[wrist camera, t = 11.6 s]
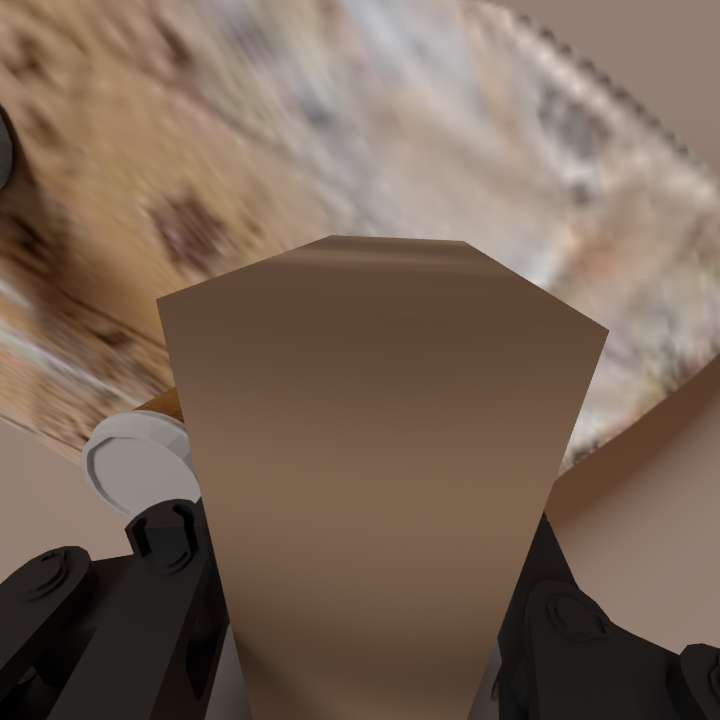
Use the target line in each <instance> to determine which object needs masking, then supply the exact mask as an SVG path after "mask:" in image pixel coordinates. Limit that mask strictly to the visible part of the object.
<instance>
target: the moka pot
mask: <svg viewBox="0 0 720 720" xmlns="http://www.w3.org/2000/svg"><path fill="white" fill-rule="evenodd" d="M12 150H13V146H12V141H11V140H10V136H9V133H8V131H7V129H6V125H5V123H4V121H3V119H2V117H1V115H0V189H1V188H2V187H3V186H4V185H5V183H6V181H7V180H8V178H9V176H10V173H11V164H12V155H13V154H12Z"/></svg>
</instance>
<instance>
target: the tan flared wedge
mask: <svg viewBox="0 0 720 720" xmlns="http://www.w3.org/2000/svg"><path fill="white" fill-rule="evenodd" d="M156 301H157V306H158V310H159V315H160V319H161V323H162V328H163V332H164V336H165V341H166V345H167V349H168V354H169V358H170V362H171V367H172V371H173V375H174V380H175V384H176V388H177V393H178V397H179V401H180V406H181V410H182V414H183V419H184V423H185V427H186V432H187V436H188V440H189V445H190V449H191V453H192V458H193V462H194V466H195V471H196V475H197V479H198V484H199V488H200V493H201V497H202V501H203V506H204V510H205V514H206V519H207V523H208V527H209V532H210V536H211V540H212V545H213V549H214V553H215V558H216V562H217V566H218V571H219V575H220V579H221V584H222V588H223V592H224V597H225V601H226V605H227V610H228V614H229V618H230V624H229V626H228V629H227V633H226V637H225V641H224V645H223V649H222V653H221V657H220V661H219V665H218V669H217V673H216V677H215V681H214V685H213V689H212V693H211V697H210V701H209V705H208V709H207V713H206V717H205V720H499V707H498V699H497V701H496V702H494V701H492V700H490V698H491V692H492V686H493V684H494V681H495V679H496V676H497V674H498V671H499V669H500V666H501V664H502V659H501V654H500V649H499V644H498V640H497V636H498V633H499V631H500V628H501V625H502V623H503V620H504V617H505V614H506V612H507V609H508V606H509V603H510V601H511V598H512V595H513V592H514V590H515V587H516V584H517V582H518V579H519V576H520V573H521V571H522V568H523V565H524V562H525V560H526V557H527V554H528V551H529V549H530V546H531V543H532V541H533V538H534V535H535V532H536V530H537V527H538V524H539V521H540V519H541V516H542V513H543V510H544V508H545V505H546V502H547V500H548V497H549V494H550V491H551V488H552V486H553V483H554V480H555V478H556V475H557V472H558V469H559V467H560V464H561V461H562V459H563V456H564V453H565V450H566V448H567V445H568V442H569V439H570V437H571V434H572V431H573V428H574V426H575V423H576V420H577V418H578V415H579V412H580V409H581V407H582V404H583V401H584V398H585V396H586V393H587V390H588V387H589V385H590V382H591V379H592V377H593V374H594V371H595V368H596V366H597V363H598V360H599V357H600V355H601V352H602V349H603V346H604V344H605V341H606V338H607V336H608V333H609V330H608V329H606V328H605V327H603V326H601V325H600V324H598V323H597V322H595V321H593V320H592V319H590V318H588V317H587V316H585V315H583V314H582V313H580V312H579V311H577V310H575V309H574V308H572V307H570V306H569V305H567V304H566V303H564V302H562V301H561V300H559V299H557V298H556V297H554V296H552V295H551V294H549V293H548V292H546V291H544V290H543V289H541V288H539V287H538V286H536V285H534V284H533V283H531V282H530V281H528V280H526V279H525V278H523V277H521V276H520V275H518V274H517V273H515V272H513V271H512V270H510V269H508V268H507V267H505V266H503V265H502V264H500V263H499V262H497V261H495V260H494V259H492V258H490V257H489V256H487V255H486V254H484V253H482V252H481V251H479V250H477V249H476V248H474V247H472V246H471V245H469V244H468V243H466V242H464V241H451V240H428V239H406V238H383V237H360V236H337V235H331V236H328V237H326V238H323V239H320V240H317V241H315V242H312V243H309V244H306V245H304V246H301V247H298V248H295V249H293V250H290V251H287V252H284V253H282V254H279V255H276V256H273V257H271V258H268V259H265V260H262V261H260V262H257V263H254V264H251V265H249V266H246V267H243V268H240V269H238V270H235V271H232V272H229V273H227V274H224V275H221V276H218V277H216V278H213V279H210V280H208V281H205V282H202V283H199V284H197V285H194V286H191V287H188V288H186V289H183V290H180V291H177V292H175V293H172V294H169V295H166V296H164V297H161V298H158V299H156Z"/></svg>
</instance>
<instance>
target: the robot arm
mask: <svg viewBox="0 0 720 720" xmlns="http://www.w3.org/2000/svg"><path fill="white" fill-rule="evenodd" d="M125 532H126V534H127V537H128V539H129V542H130V544H131V547H132V550H133V552H134V554H132V555H127V556H121V557H115V558H109V559H103V560H98V561H92V560H91V558H90V556H89V554H88V552H87V551H86V550H85V549H83V548H81V547H79V546H64V547H60V548H57V549H53V550H50V551H47V552H45V553H43V554H41V555H39V556H37V557H35V558H33V559H31V560H30V561H28V562H27V563H26V564H24V565H23V566H22V567H20V568H19V569H18V570H16V571H15V572H14V573H12V574H11V575H10V576H9V577H8V578H7V579H6V580H5V581H3V582H2V583H1V584H0V720H205V717H206V713H207V709H208V705H209V701H210V697H211V693H212V689H213V685H214V681H215V677H216V673H217V669H218V665H219V661H220V657H221V653H222V649H223V645H224V641H225V637H226V633H227V629H228V626H229V624H230V618H229V614H228V610H227V605H226V601H225V597H224V592H223V588H222V584H221V579H220V575H219V571H218V566H217V562H216V558H215V553H214V549H213V545H212V540H211V536H210V532H209V527H208V523H207V519H206V514H205V510H204V506H203V501H202V497H200V498H199V499H198V501H197V502H196V503H194V502H193V501H191V500H187V499H179V498H177V499H172V500H166V501H162V502H160V503H157V504H155V505H153V506H150V507H148V508H147V509H145V510H144V511H143V512H141V513H140V514H138V515H137V516H135V517H134V519H133V520H132V521H131V522H130V523H129V524H128V525H127V527H126V528H125ZM497 640H498V644H499V649H500V654H501V659H502V664H501V666H500V669H499V671H498V674H497V676H496V679H495V681H494V684H493V686H492V692H491V698H490V700H492V701H494V702H496V701H497V699H498V707H499V720H720V648H716V647H713V646H709V645H706V644H703V643H700V644H693V645H687V646H686V648H685V649H684V650H683V651H682V653H681V654H680V655H678V654H676V653H673V652H671V651H669V650H667V649H665V648H663V647H660V646H658V645H656V644H654V643H651V642H649V641H647V640H645V639H643V638H640V637H638V636H636V635H634V634H632V633H630V632H628V631H626V630H624V629H622V628H621V627H619V626H617V625H615V624H614V623H613V622H611V621H610V619H609V618H608V616H607V615H606V614H605V613H604V612H603V610H602V609H601V608H600V606H599V605H598V604H597V603H596V602H595V601H594V600H593V599H591V598H590V597H589V596H587V595H586V594H585V593H584V592H582V591H581V590H580V589H579V587H578V585H577V584H576V582H575V580H574V578H573V575H572V573H571V571H570V568H569V566H568V564H567V562H566V559H565V557H564V555H563V553H562V550H561V549H560V546H559V544H558V541H557V539H556V537H555V535H554V532H553V530H552V528H551V526H550V523H549V522H548V521H547V517H546V514H545V512H544V510H543V513H542V516H541V519H540V521H539V524H538V527H537V530H536V532H535V535H534V538H533V541H532V543H531V546H530V549H529V551H528V554H527V557H526V560H525V562H524V565H523V568H522V571H521V573H520V576H519V579H518V582H517V584H516V587H515V590H514V592H513V595H512V598H511V601H510V603H509V606H508V609H507V612H506V614H505V617H504V620H503V623H502V625H501V628H500V631H499V633H498V636H497Z"/></svg>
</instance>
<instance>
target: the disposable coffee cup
mask: <svg viewBox="0 0 720 720" xmlns="http://www.w3.org/2000/svg"><path fill="white" fill-rule="evenodd" d="M81 466H82V469H83V472H84V475H85V478H86V480H87V481H88V483H89V485H90V487H91V488H92V489H93V490H94V492H95V493H96V494H97V495H98V497H99V498H100V499H101V500H103V501H104V502H105V503H106V504H107V505H108V506H110V507H111V508H112V509H113V510H115V511H116V512H118V513H120V514H121V515H123V516H125V517H127V518H129V519H131V520H133V519H134V517H135V516H137V515H138V514H140V513H141V512H143V511H144V510H145V509H147V508H148V507H150V506H153V505H155V504H157V503H160V502H162V501H166V500H172V499H177V498H179V499H187V500H191V501H193V502H194V503H196V502H197V501H198V499H199V498H200V497H201V493H200V488H199V484H198V479H197V475H196V471H195V466H194V462H193V458H192V453H191V449H190V445H189V440H188V436H187V432H186V427H185V423H184V419H183V414H182V410H181V406H180V401H179V397H178V393H177V388H176V387H174V388H172V389H170V390H169V391H166V392H165V393H163V394H161V395H159V396H157V397H156V398H154V399H152V400H150V401H148V402H146V403H145V404H143V405H141V406H139V407H137V408H136V409H134V410H132V411H128V412H123V413H120V414H116V415H113V416H110V417H108V418H107V419H105V420H103V421H102V422H101V423H100V424H99V425H98V426H97V427H96V428H95V430H94V431H93V433H92V436H91V439H90V440H89V441H88V442H87V443H86V445H85V447H84V448H83V451H82V455H81Z"/></svg>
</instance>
